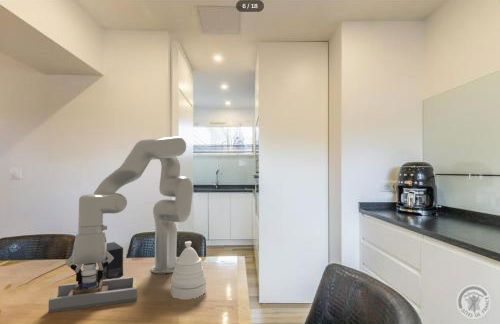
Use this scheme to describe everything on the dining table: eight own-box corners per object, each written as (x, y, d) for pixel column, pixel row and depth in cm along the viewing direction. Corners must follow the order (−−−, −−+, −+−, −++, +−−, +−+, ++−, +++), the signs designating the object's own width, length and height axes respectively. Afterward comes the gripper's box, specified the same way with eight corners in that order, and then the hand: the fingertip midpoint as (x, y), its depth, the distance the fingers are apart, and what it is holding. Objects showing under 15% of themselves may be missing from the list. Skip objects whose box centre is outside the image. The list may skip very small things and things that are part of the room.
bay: (136, 286, 114) (137, 276, 114) (136, 300, 102) (136, 288, 102) (59, 296, 105) (59, 284, 105) (48, 312, 93) (48, 299, 93)
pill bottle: (85, 288, 105) (85, 261, 106) (100, 288, 106) (101, 260, 106) (77, 295, 100) (78, 266, 100) (93, 294, 100) (94, 265, 101)
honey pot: (168, 287, 113) (169, 240, 114) (201, 283, 118) (201, 238, 119) (173, 301, 101) (174, 249, 102) (209, 295, 106) (210, 245, 107)
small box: (97, 271, 131) (98, 244, 132) (114, 267, 136) (114, 241, 136) (106, 279, 121) (106, 250, 122) (123, 275, 126) (124, 247, 126)
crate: (108, 288, 109) (109, 278, 109) (106, 299, 100) (106, 288, 100) (71, 293, 105) (71, 282, 105) (65, 304, 96) (65, 293, 96)
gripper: (118, 226, 110) (117, 275, 109) (65, 229, 104) (63, 281, 103) (116, 230, 103) (115, 282, 102) (59, 233, 97) (58, 289, 96)
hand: (89, 281), depth 103 cm, fingers closed on pill bottle, 5 cm apart
